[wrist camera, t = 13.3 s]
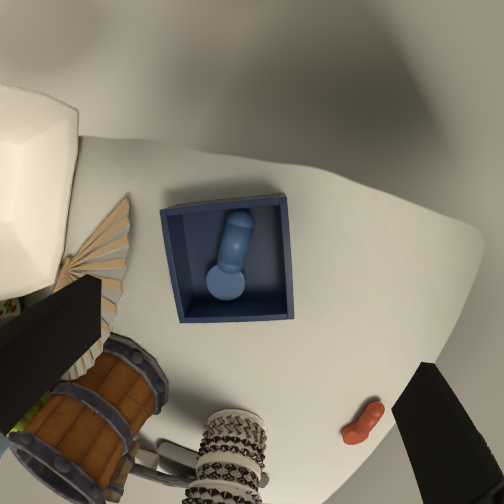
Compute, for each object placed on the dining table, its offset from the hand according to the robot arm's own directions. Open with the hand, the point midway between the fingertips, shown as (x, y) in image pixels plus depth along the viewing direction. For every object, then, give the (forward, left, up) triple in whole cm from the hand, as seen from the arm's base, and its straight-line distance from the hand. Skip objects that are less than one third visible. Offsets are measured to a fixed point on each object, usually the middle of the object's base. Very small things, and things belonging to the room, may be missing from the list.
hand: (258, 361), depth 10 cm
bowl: (+36, -13, -13) cm, 41 cm away
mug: (+22, +19, -19) cm, 35 cm away
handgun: (+11, +37, -14) cm, 41 cm away
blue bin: (+4, +1, -19) cm, 19 cm away
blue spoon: (+4, +1, -18) cm, 18 cm away
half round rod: (+12, +37, -19) cm, 43 cm away
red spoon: (-11, +27, -19) cm, 34 cm away
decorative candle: (+6, +26, -19) cm, 33 cm away
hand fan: (+26, 0, -19) cm, 32 cm away
